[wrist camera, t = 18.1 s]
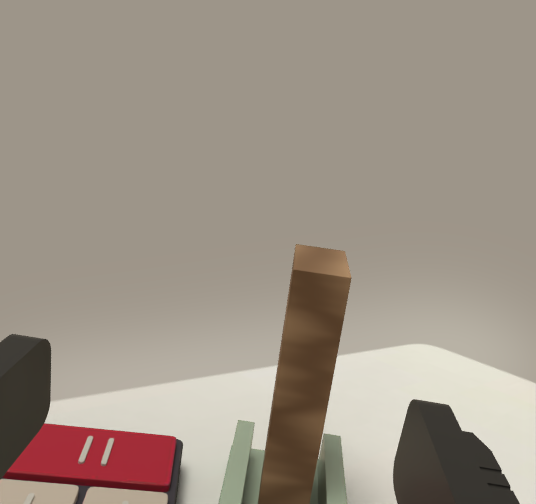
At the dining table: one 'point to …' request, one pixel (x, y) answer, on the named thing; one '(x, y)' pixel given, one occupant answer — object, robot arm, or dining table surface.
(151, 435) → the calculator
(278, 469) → the tall board
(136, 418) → the dining table surface
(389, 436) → the dining table surface
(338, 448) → the board holder
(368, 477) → the dining table surface
